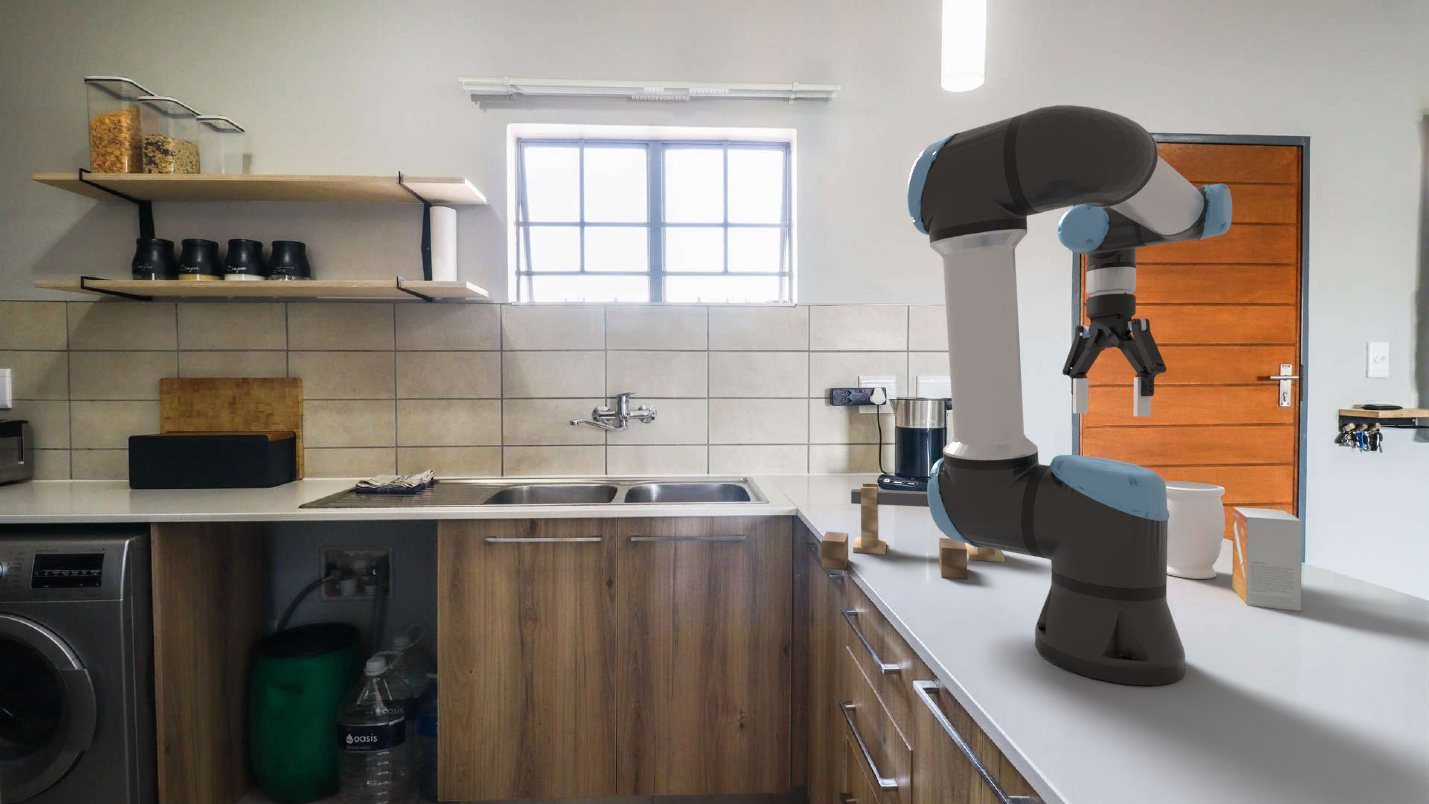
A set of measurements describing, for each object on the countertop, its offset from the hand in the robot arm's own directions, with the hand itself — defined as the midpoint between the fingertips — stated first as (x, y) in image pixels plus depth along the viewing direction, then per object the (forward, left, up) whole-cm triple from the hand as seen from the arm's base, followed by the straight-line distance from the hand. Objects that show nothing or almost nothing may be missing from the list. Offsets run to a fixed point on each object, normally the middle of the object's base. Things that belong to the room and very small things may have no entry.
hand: (1109, 414), depth 114 cm
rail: (-22, +22, -18) cm, 36 cm away
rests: (-35, +17, -27) cm, 47 cm away
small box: (0, -23, -27) cm, 35 cm away
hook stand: (-22, +22, -27) cm, 41 cm away
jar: (+5, -10, -27) cm, 29 cm away
